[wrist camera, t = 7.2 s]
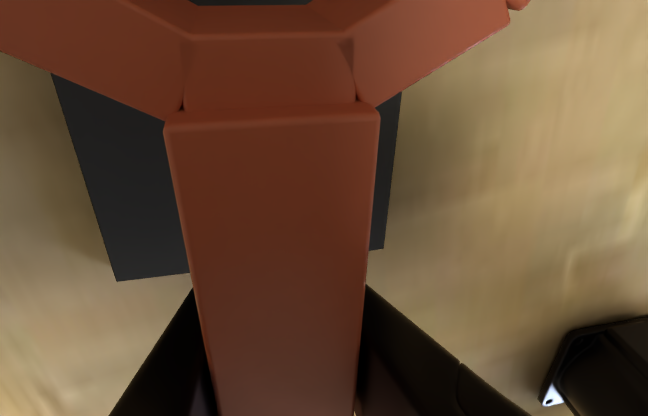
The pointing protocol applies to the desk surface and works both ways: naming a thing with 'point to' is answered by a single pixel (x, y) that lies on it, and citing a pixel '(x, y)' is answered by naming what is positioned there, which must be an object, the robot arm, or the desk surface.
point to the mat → (165, 174)
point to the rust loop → (263, 158)
